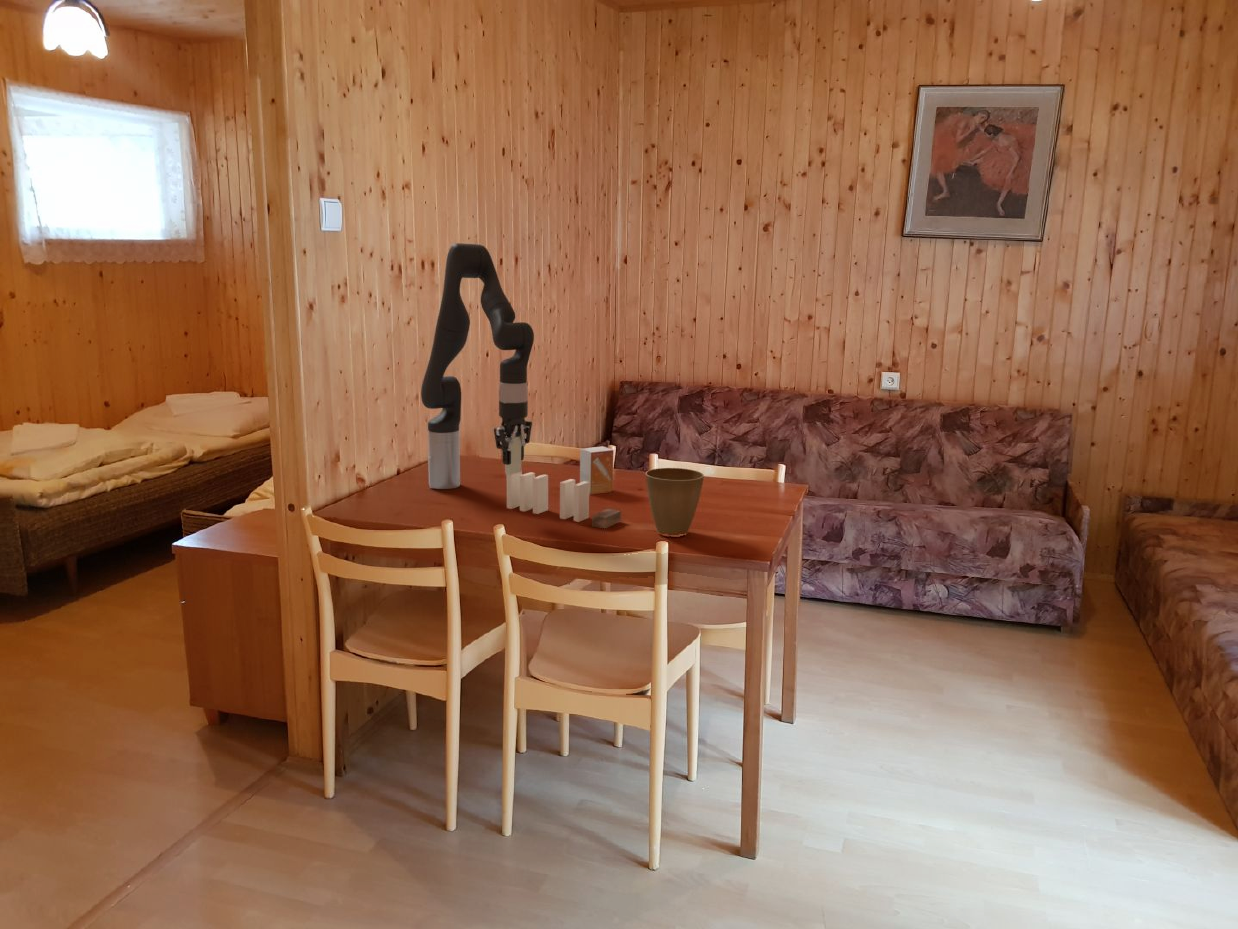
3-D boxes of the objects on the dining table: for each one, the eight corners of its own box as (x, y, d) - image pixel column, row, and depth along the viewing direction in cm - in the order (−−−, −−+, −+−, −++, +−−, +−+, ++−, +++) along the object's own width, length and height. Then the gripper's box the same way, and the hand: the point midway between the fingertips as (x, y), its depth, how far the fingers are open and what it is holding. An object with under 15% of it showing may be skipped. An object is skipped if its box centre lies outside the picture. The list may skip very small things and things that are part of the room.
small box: (590, 495, 287) (590, 452, 284) (579, 490, 292) (579, 448, 289) (613, 492, 291) (614, 449, 288) (601, 487, 296) (602, 445, 293)
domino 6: (573, 521, 260) (574, 484, 258) (583, 516, 264) (584, 481, 262) (578, 521, 259) (579, 485, 257) (588, 517, 263) (589, 482, 261)
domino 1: (505, 474, 257) (505, 437, 255) (516, 470, 261) (516, 434, 259) (509, 475, 256) (510, 438, 254) (521, 471, 260) (521, 435, 258)
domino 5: (559, 518, 262) (560, 482, 260) (570, 514, 266) (570, 478, 264) (564, 519, 261) (564, 483, 259) (574, 515, 266) (575, 479, 263)
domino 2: (506, 508, 271) (506, 473, 269) (517, 504, 275) (517, 470, 273) (511, 509, 270) (511, 474, 268) (522, 505, 275) (522, 470, 272)
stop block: (591, 526, 255) (592, 515, 255) (607, 519, 262) (608, 508, 261) (604, 528, 253) (605, 517, 253) (620, 521, 260) (620, 511, 259)
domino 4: (532, 513, 267) (532, 477, 264) (543, 509, 271) (543, 474, 269) (537, 514, 266) (537, 478, 264) (548, 510, 270) (548, 475, 268)
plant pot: (706, 542, 244) (708, 480, 240) (647, 542, 243) (648, 480, 239) (696, 525, 258) (698, 466, 255) (641, 525, 257) (642, 466, 253)
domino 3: (519, 510, 269) (519, 475, 267) (530, 506, 273) (530, 472, 271) (524, 511, 268) (524, 476, 266) (534, 507, 272) (535, 473, 270)
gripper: (518, 394, 262) (518, 455, 266) (484, 401, 250) (485, 465, 254) (541, 397, 258) (540, 459, 262) (508, 404, 246) (508, 469, 250)
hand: (513, 461), depth 258 cm, fingers closed on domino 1, 5 cm apart
